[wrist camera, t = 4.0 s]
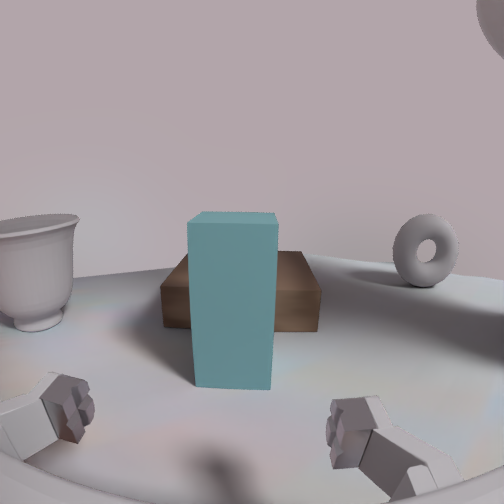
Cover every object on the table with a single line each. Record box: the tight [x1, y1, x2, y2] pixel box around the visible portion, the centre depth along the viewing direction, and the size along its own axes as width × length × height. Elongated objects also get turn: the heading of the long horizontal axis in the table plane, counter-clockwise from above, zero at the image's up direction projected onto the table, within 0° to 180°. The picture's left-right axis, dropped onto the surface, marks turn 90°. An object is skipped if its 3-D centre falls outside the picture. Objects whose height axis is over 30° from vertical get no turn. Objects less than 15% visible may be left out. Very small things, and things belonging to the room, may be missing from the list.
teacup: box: [0, 214, 80, 332], centre depth 27 cm, size 12×15×10 cm
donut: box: [393, 214, 458, 287], centre depth 39 cm, size 10×4×10 cm, turn 82°
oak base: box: [160, 251, 321, 332], centre depth 35 cm, size 14×14×4 cm
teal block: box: [187, 212, 279, 390], centre depth 21 cm, size 5×5×11 cm
